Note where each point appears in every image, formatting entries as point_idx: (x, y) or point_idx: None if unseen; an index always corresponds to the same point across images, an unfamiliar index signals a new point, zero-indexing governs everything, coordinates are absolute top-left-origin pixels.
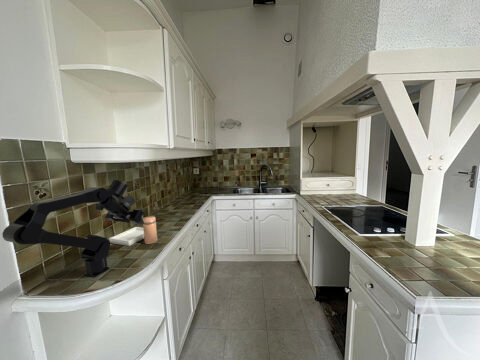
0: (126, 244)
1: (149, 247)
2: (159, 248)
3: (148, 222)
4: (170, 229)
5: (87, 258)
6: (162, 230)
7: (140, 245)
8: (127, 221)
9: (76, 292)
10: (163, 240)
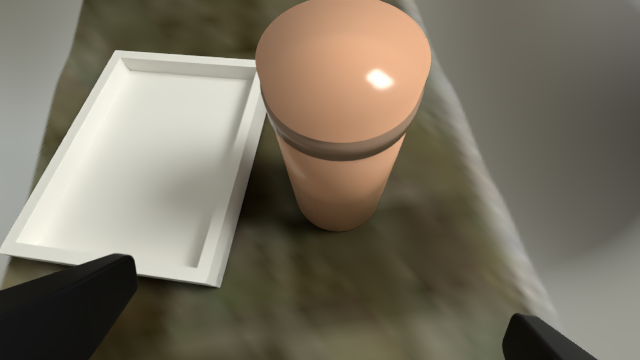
0: (192, 283)
1: (394, 280)
2: (484, 284)
3: (388, 135)
4: None
5: None
6: None
7: (300, 259)
8: (97, 323)
9: None
10: (413, 163)
